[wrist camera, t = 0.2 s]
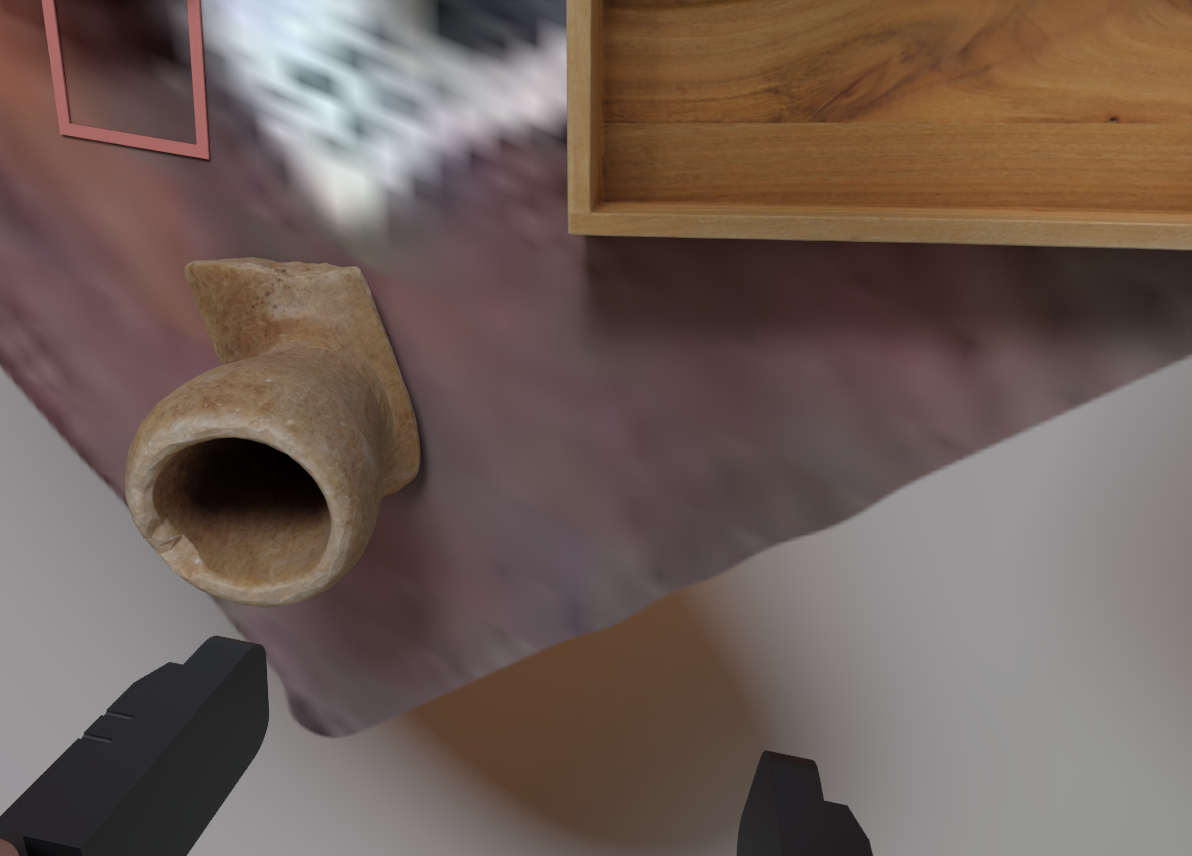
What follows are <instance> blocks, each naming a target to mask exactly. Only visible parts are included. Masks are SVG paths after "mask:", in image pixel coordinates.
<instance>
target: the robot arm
mask: <svg viewBox="0 0 1192 856" xmlns="http://www.w3.org/2000/svg"><path fill="white" fill-rule="evenodd" d="M268 721H269V703H268V684H267V664H266V652H265V649H264V647H263V646H262V645H260V644H255V643H250V642H245V641H240V640H236V639H231V638H225V637H221V636H213V637H210V638H209V639H207V640H206V641H205V642H204V643H203V644H202V645H201V646H200V647H199V648H198V650H196V652H195V653H194V654H193V655H192V656H191V657H190V658H189V659H188V660H187V661H186V662H185V663H184V664H183V665H182V664H177V663H172V662H169V663H167V664H165V665H164V666H162V667H160V668H158V669H157V670H155V671H153V672H151V673H150V674H148V675H146V676H145V677H143V678H141V679H139V680H138V681H136V682H134V683H133V684H132V685H131V686H130V687H129V688H128V689H127V690H126V691H125V692H124V693H123V694H122V695H121V696H120V697H119V698H118V699H117V700H116V701H115V702H114V703H113V704H112V705H111V706H110V707H109V708H108V709H107V712H106V714H105V715H104V716H102V715H101V716H100V717H99V718H98V719H97V720H96V721H95V722H94V723H93V724H92V725H91V726H90V727H89V728H88V729H87V730H86V731H85V732H84V735H83V737H82V738H81V739H79V738H78V739H77V740H76V741H75V742H74V743H73V744H72V745H71V746H70V747H69V748H68V749H67V750H66V751H65V752H64V753H63V754H62V755H61V756H60V757H59V758H58V759H57V760H56V761H55V762H54V763H53V764H52V765H51V766H50V767H49V768H48V769H47V770H46V771H45V772H44V773H43V774H42V775H41V776H40V777H39V778H38V779H37V780H36V781H35V782H34V783H33V784H32V785H31V786H30V787H29V788H28V789H27V790H26V791H25V792H24V793H23V794H22V795H21V796H20V797H19V798H18V799H17V800H16V801H15V802H14V803H13V804H12V805H11V806H10V807H9V808H8V809H7V810H6V811H5V812H4V813H3V814H2V815H1V816H0V856H187V854H188V853H189V851H190V850H191V848H192V847H193V846H194V844H195V843H196V841H197V840H198V838H199V837H200V835H201V834H202V833H203V831H204V830H205V828H206V827H207V825H208V824H209V822H210V821H211V820H212V818H213V817H214V815H215V814H216V812H217V811H218V809H219V808H220V806H221V805H222V804H223V802H224V801H225V799H226V798H227V796H228V795H229V793H230V792H231V791H232V789H233V788H234V786H235V785H236V783H237V782H238V781H239V779H240V778H241V776H242V775H243V773H244V772H245V770H246V769H247V768H248V766H249V765H250V763H251V762H252V760H253V759H254V757H255V756H256V754H257V752H258V750H259V749H260V746H261V744H262V742H263V739H264V737H265V734H266V730H267V726H268ZM737 856H873V854H872V850H871V846H870V842H869V839H868V838H867V836H866V834H865V833H864V831H863V830H862V828H861V827H860V825H859V823H858V822H857V820H856V819H855V817H854V815H853V814H852V812H851V811H850V809H849V807H848V806H847V805H842V804H838V803H833V802H828V801H824V798H823V793H822V788H821V782H820V777H819V772H818V768H817V765H816V763H815V761H813V760H810V759H805V758H800V757H795V756H790V755H785V754H780V753H776V752H771V751H764V752H763V753H762V755H761V758H760V761H759V764H758V767H757V770H756V774H755V776H754V779H753V783H752V786H751V789H750V792H749V795H748V798H747V801H746V804H745V807H744V810H743V814H742V817H741V821H740V826H739V832H738V841H737Z"/></svg>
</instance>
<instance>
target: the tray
mask: <svg viewBox="0 0 1192 856" xmlns="http://www.w3.org/2000/svg"><path fill="white" fill-rule="evenodd" d="M566 6H567V160H568V233H569V234H572V235H594V236H633V237H678V238H717V239H770V240H801V241H855V242H900V243H941V244H979V245H1016V246H1053V247H1089V248H1131V249H1161V250H1192V0H566Z"/></svg>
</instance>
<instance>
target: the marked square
mask: <svg viewBox="0 0 1192 856" xmlns="http://www.w3.org/2000/svg"><path fill="white" fill-rule="evenodd" d="M42 6H43V13H44V20H45V27H46V35H47V42H48V49H49V56H50V64H51V71H52V78H53V85H54V93H55V100H56V107H57V114H58V122H59V129H60V134H63V135H69V136H74V137H80V138H86V139H92V140H98V141H104V142H110V143H116V144H121V145H127V146H133V147H139V148H145V149H151V150H157V151H162V152H168V153H174V154H180V155H186V156H192V157H198V158H204V159H210V151H209V135H208V119H207V103H206V86H205V70H204V54H203V38H202V22H201V6H200V0H187V6H188V20H189V35H190V50H191V65H192V79H193V94H194V109H195V123H196V138H197V145H194V144H188V143H182V142H176V141H170V140H164V139H159V138H153V137H147V136H141V135H135V134H129V133H123V132H117V131H111V130H105V129H99V128H94V127H88V126H82V125H76V124H71V121H70V113H69V106H68V98H67V91H66V83H65V75H64V68H63V60H62V53H61V45H60V37H59V30H58V22H57V15H56V7H55V0H42Z"/></svg>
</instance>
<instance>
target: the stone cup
mask: <svg viewBox="0 0 1192 856" xmlns="http://www.w3.org/2000/svg"><path fill="white" fill-rule="evenodd" d="M184 270H185V275H186V278H187V280H188V282H189V285H190V287H191V290H192V293H193V295H194V298H195V301H196V304H197V307H198V309H199V311H200V314H201V316H202V319H203V321H204V324H205V327H206V329H207V332H208V334H209V337H210V340H211V342H212V345H213V347H214V349H215V352H216V354H217V356H218V358H219V360H220V362H221V363H222V366H219V367H216V368H214V369H211V370H209V371H207V372H205V373H203V374H201V375H199V376H197V377H195V378H193V379H192V380H190V381H188V382H186V383H185V384H183V385H181V386H180V387H179V388H177V389H176V390H175V391H173V392H172V393H170V394H169V395H168V396H166V397H165V398H164V399H162V400H161V401H160V402H159V403H158V404H157V405H156V406H155V407H154V408H153V409H152V410H151V411H150V413H149V414H148V415H147V416H146V418H145V419H144V420H143V421H142V423H141V424H140V426H139V429H138V431H137V433H136V435H135V437H134V439H133V442H132V444H131V446H130V448H129V453H128V458H127V466H126V474H125V490H126V500H127V504H128V506H129V509H130V512H131V515H132V518H133V521H134V523H135V525H136V527H137V528H138V530H139V531H140V533H141V534H142V536H143V537H144V538H145V539H146V541H147V542H148V543H149V544H150V545H151V546H152V548H153V549H154V550H155V551H156V552H157V553H158V554H159V556H160V557H161V558H162V559H163V560H164V561H165V563H166V564H167V565H168V566H169V567H170V569H171V570H173V571H174V572H175V573H176V574H178V575H179V576H180V577H182V578H183V579H184V580H185V581H187V582H188V583H190V584H191V585H193V586H195V587H196V588H198V589H200V590H201V591H204V592H206V593H209V594H212V595H214V596H217V597H220V598H223V599H226V600H229V601H233V602H236V603H239V604H243V605H251V606H260V607H274V606H280V605H287V604H292V603H298V602H303V601H306V600H308V599H310V598H313V597H315V596H318V595H320V594H321V593H323V592H325V591H326V590H328V589H330V588H331V587H333V586H334V585H336V584H337V583H338V582H339V581H340V580H341V579H342V578H343V577H344V576H345V575H346V574H347V573H348V572H349V571H350V570H351V569H352V568H353V566H354V565H355V564H356V563H357V562H358V560H359V559H360V558H361V556H362V554H363V553H364V551H365V549H366V547H367V545H368V543H369V541H370V538H371V536H372V534H373V531H374V529H375V525H376V522H377V519H378V514H379V509H380V504H381V498H383V497H386V496H389V495H391V494H393V493H395V492H397V491H398V490H399V489H401V488H402V487H403V486H405V485H406V484H408V483H409V482H411V481H412V480H413V479H414V478H415V477H416V475H417V473H418V471H419V465H420V441H419V434H418V429H417V423H416V418H415V413H414V410H413V407H412V404H411V400H410V397H409V394H408V391H407V389H406V386H405V384H404V381H403V379H402V376H401V373H400V370H399V367H398V365H397V362H396V359H395V356H394V353H393V350H392V347H391V345H390V342H389V340H388V337H387V334H386V332H385V329H384V327H383V324H382V321H381V319H380V316H379V313H378V311H377V308H376V305H375V303H374V300H373V297H372V294H371V292H370V289H369V287H368V284H367V282H366V280H365V278H364V276H363V274H362V272H361V270H360V269H359V268H357V267H355V266H352V267H338V266H334V265H331V264H328V263H321V264H315V263H307V264H305V263H302V262H289V263H278V262H276V261H274V260H268V259H262V258H254V257H249V258H228V259H217V260H196V261H193V262H190V263H188V264H187V266H186V267H185V268H184Z"/></svg>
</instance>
